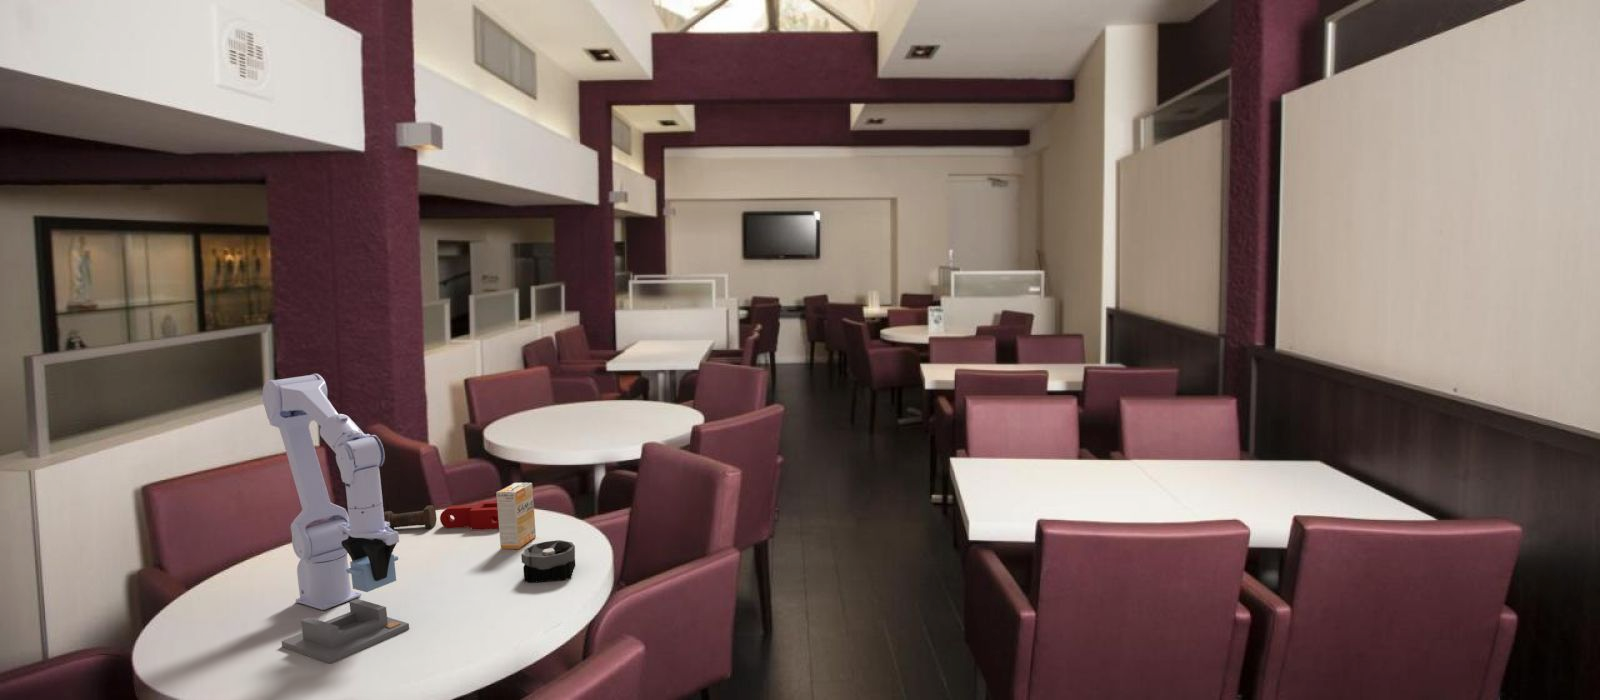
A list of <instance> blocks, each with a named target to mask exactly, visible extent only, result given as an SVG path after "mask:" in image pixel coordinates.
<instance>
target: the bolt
mask: <svg viewBox="0 0 1600 700" xmlns="http://www.w3.org/2000/svg"><path fill="white" fill-rule="evenodd" d="M436 511H437V510H436V507H434V506H433V505H426V507H424V508H423V510H420V511H412V512H404V513H403V512H402V513H394V512H393V511H391V510H389V511H384V521H386V522H390V526H389V527H390V528H391V529H392V530H394V529H395V528H402V527H403V528H404V527H406V528H407V527H413V526H414V527H417V526H424V528H425V529H426V530H430V529H431V530H432V529H433V528H434V527H436V525H437V512H436Z"/></svg>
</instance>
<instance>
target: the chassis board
mask: <svg viewBox="0 0 1600 700" xmlns="http://www.w3.org/2000/svg"><path fill="white" fill-rule="evenodd" d="M348 603H349V610H350V611H348V612H347V613H343V614H340V615H339V616H336V617H333V618H331V619H328V620H326V621H323V620H319V619H316V618H314V617H310V616H309V617H306V618H304V619H301V620H300V623H301V631H302V632H299V634H296V635H294V636H291V637H288V638H286V639H283V640H281V641H280V642H281V647H282V648H284V649H288V650H290V651H293V652H297V653H299V654H302V655H304V656H307V657H310V658H313V659H316V660H319V661H321V662H324V663H326V664H333V663H335V662H337V661H339V660H341V659H344V658H346V657H348V656H350V655H353V654H355V653H357V652H359V651H362V650H364V649H367V648H369V647H371V646H373V645H375V644H377V643H380V642H382V641H385V640H387V639H390V638H391V637H394V636H396V635H398V634H401V633H402V632H405V631H408V630H410V624H409V622H405V621H402V620H399V619H395V618H392V617H389V616H388V614H387V612H388V611H387V607H386V606H384V605H380V604H376V603H373V602H369V601H366V600H363V599H360V598H354V599H352V600H349V601H348Z"/></svg>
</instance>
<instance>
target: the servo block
mask: <svg viewBox="0 0 1600 700" xmlns="http://www.w3.org/2000/svg"><path fill="white" fill-rule="evenodd" d="M398 560H399V556H397V555H395V554H393V553H392V554H391V558H390V562H389V567H388V573H387V578H384V579H382V580H379V581H375V580H374V578H373V575H372V570H371V565H370V561H369V558H368V556H365V557H363V558H360V559H357V560H354V561H352V560H351V561H350V563H349V564H350V565H349V566H350V567H348V568H349V569H346V572H347V573H349V575H351V583H352V584H351V585H352V590H353V589H354V590H357V591H360V592H364V593H369V592H371V591H374V590H376V589H379V588H381V587H383V586H384V587H385V586H386V585H389V584H391V583H394V582H397V575H396V574H397V573H396V566H395V565H396V564H395V562H396V561H398Z"/></svg>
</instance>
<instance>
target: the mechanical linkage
mask: <svg viewBox="0 0 1600 700" xmlns="http://www.w3.org/2000/svg"><path fill="white" fill-rule="evenodd" d="M451 516H452V517H453V518H452V517H451ZM439 522H440V523H441V525H442V526H443V527H444V528H446V529H458V528H459V529H460V528H463V529H465V528H470V530H471V531H482V530H483V531H484V530H499V520H498V507H497V500H496V501H495V500H493V501H478V502H477V503H475V504H464V505H463V504H462V505H450V506H448V507H447V508H446V509H444V510H443V511H442V512H441V513H440V516H439Z"/></svg>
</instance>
